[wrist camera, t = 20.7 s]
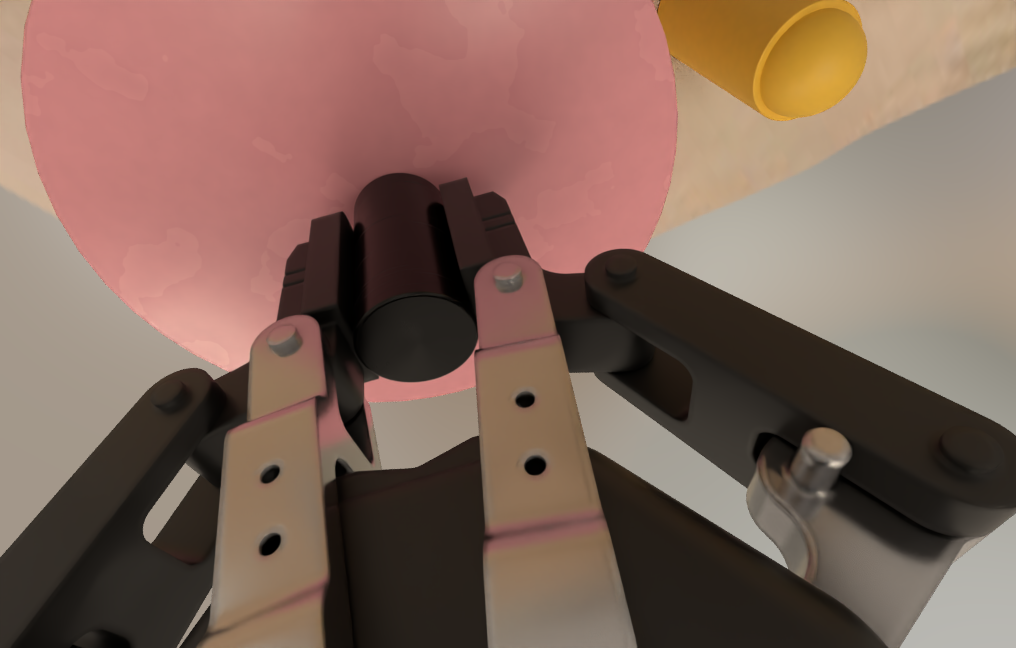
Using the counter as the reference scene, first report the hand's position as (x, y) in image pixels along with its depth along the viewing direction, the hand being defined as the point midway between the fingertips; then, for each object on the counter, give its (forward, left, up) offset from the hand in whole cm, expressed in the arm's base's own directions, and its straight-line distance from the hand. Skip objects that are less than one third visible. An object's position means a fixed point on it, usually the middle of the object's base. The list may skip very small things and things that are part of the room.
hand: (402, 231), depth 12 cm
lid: (0, 0, -1) cm, 1 cm away
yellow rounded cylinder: (0, +17, -17) cm, 24 cm away
